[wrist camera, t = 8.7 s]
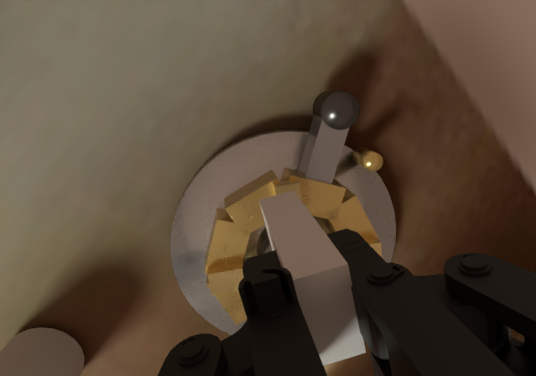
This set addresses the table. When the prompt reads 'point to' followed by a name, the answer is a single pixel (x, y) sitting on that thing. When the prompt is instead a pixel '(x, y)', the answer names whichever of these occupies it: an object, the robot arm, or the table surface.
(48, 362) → the can
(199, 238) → the cap base
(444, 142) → the table surface
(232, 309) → the ring nut
